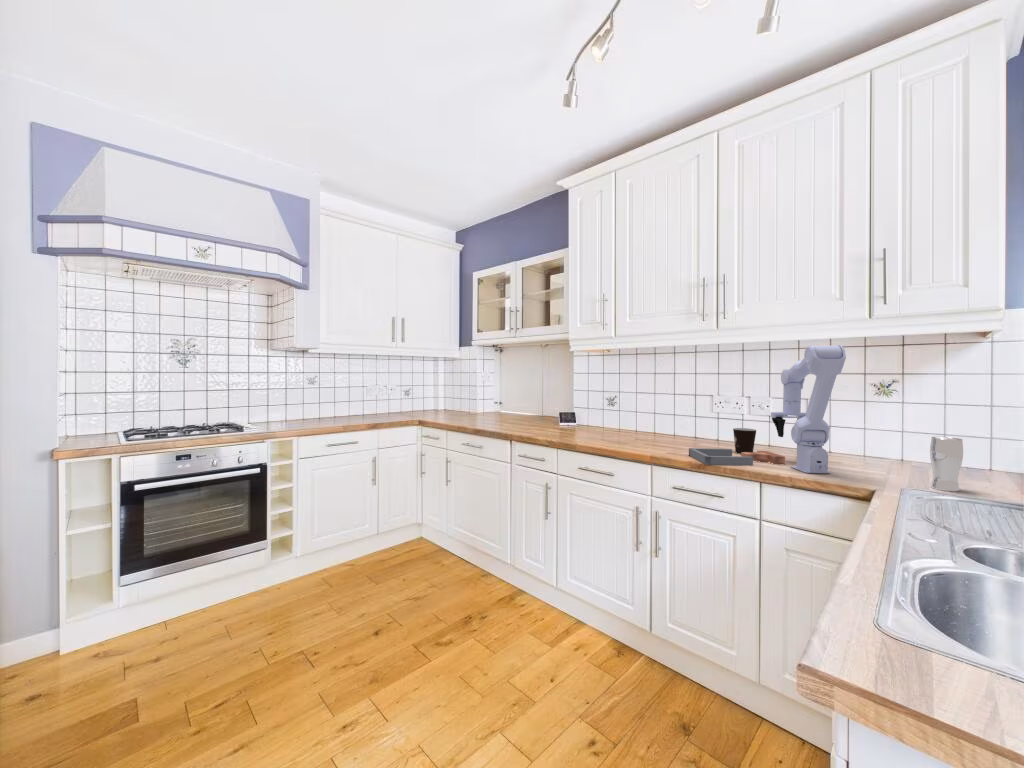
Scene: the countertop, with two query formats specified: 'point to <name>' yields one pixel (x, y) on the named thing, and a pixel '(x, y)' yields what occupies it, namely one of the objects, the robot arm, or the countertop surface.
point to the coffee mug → (744, 439)
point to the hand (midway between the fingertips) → (790, 436)
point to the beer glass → (946, 462)
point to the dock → (718, 457)
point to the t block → (765, 457)
